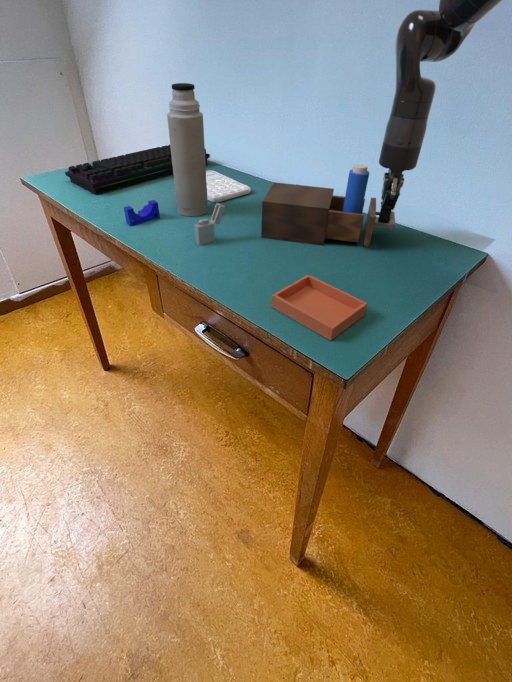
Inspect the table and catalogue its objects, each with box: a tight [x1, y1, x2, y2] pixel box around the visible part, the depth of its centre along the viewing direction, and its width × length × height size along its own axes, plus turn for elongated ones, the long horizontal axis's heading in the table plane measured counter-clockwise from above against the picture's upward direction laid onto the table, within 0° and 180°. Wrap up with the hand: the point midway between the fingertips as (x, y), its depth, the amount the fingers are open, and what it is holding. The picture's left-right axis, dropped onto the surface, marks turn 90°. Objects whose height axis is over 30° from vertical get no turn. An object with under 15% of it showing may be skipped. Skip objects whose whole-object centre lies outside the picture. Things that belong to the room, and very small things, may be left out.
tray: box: [271, 274, 369, 342], centre depth 70 cm, size 13×10×3 cm
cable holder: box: [123, 199, 161, 227], centre depth 97 cm, size 8×4×4 cm, turn 129°
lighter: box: [194, 202, 226, 246], centre depth 88 cm, size 7×2×8 cm, turn 125°
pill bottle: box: [343, 163, 370, 214], centre depth 88 cm, size 4×4×14 cm
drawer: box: [325, 194, 396, 247], centre depth 91 cm, size 18×11×7 cm, turn 77°
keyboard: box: [64, 144, 211, 196], centre depth 124 cm, size 42×16×5 cm, turn 137°
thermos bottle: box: [166, 82, 209, 217], centre depth 94 cm, size 8×8×28 cm
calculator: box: [206, 170, 252, 203], centre depth 115 cm, size 13×20×2 cm, turn 40°
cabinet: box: [260, 182, 335, 246], centre depth 93 cm, size 15×13×9 cm
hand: (382, 223), depth 90 cm, fingers closed
